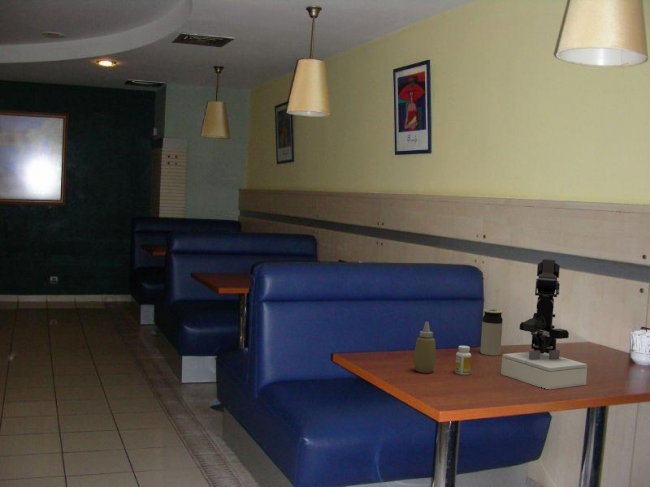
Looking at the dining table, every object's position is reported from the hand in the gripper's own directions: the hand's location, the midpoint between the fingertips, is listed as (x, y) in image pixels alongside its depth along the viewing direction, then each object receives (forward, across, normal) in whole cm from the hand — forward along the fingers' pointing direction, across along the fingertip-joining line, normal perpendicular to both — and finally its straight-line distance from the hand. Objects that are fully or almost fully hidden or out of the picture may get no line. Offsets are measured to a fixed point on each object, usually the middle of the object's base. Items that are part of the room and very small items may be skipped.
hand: (541, 353), depth 268 cm
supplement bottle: (+8, -12, -26) cm, 30 cm away
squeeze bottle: (+8, -19, -38) cm, 44 cm away
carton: (+8, +5, -4) cm, 10 cm away
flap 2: (+2, +11, -4) cm, 11 cm away
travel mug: (+8, -34, +8) cm, 36 cm away
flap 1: (+2, -1, -4) cm, 4 cm away
